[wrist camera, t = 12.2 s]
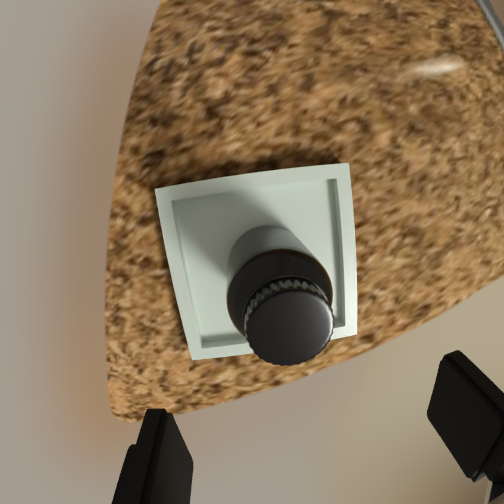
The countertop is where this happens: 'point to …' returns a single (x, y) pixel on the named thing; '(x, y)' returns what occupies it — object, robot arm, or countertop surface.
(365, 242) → the countertop surface
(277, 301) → the supplement bottle
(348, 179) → the sage tray
